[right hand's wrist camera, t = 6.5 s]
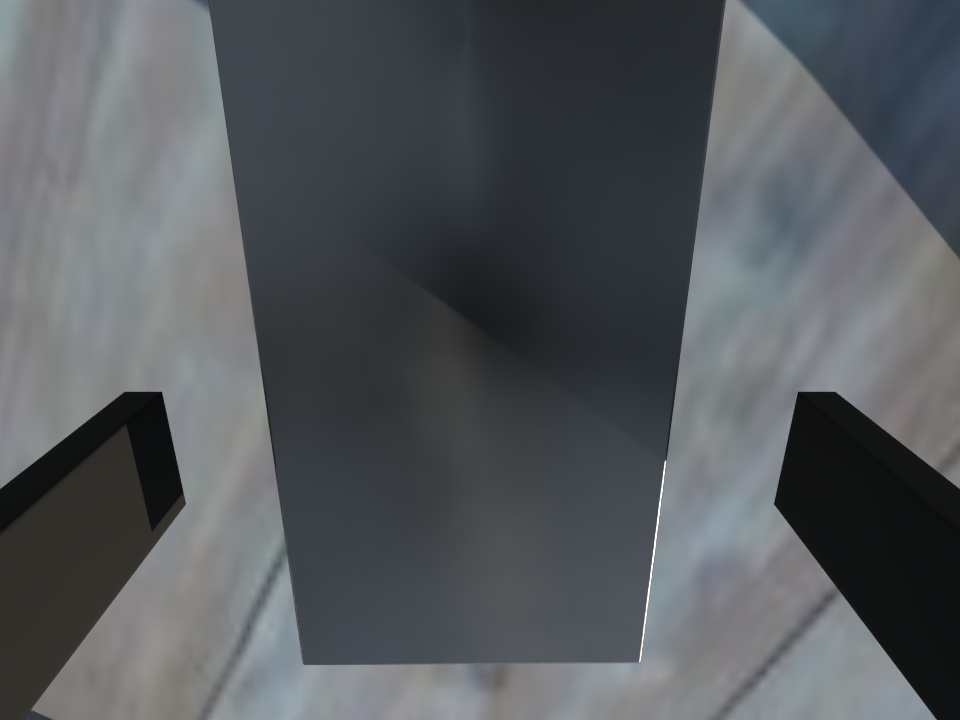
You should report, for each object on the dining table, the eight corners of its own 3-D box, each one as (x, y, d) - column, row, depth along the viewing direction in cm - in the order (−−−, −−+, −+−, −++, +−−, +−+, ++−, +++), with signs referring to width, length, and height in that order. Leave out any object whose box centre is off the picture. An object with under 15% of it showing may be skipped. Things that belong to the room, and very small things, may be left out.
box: (566, 418, 22) (641, 664, 12) (380, 419, 22) (301, 665, 12) (616, -448, 14) (966, -1852, 4) (322, -450, 14) (-63, -1878, 4)
